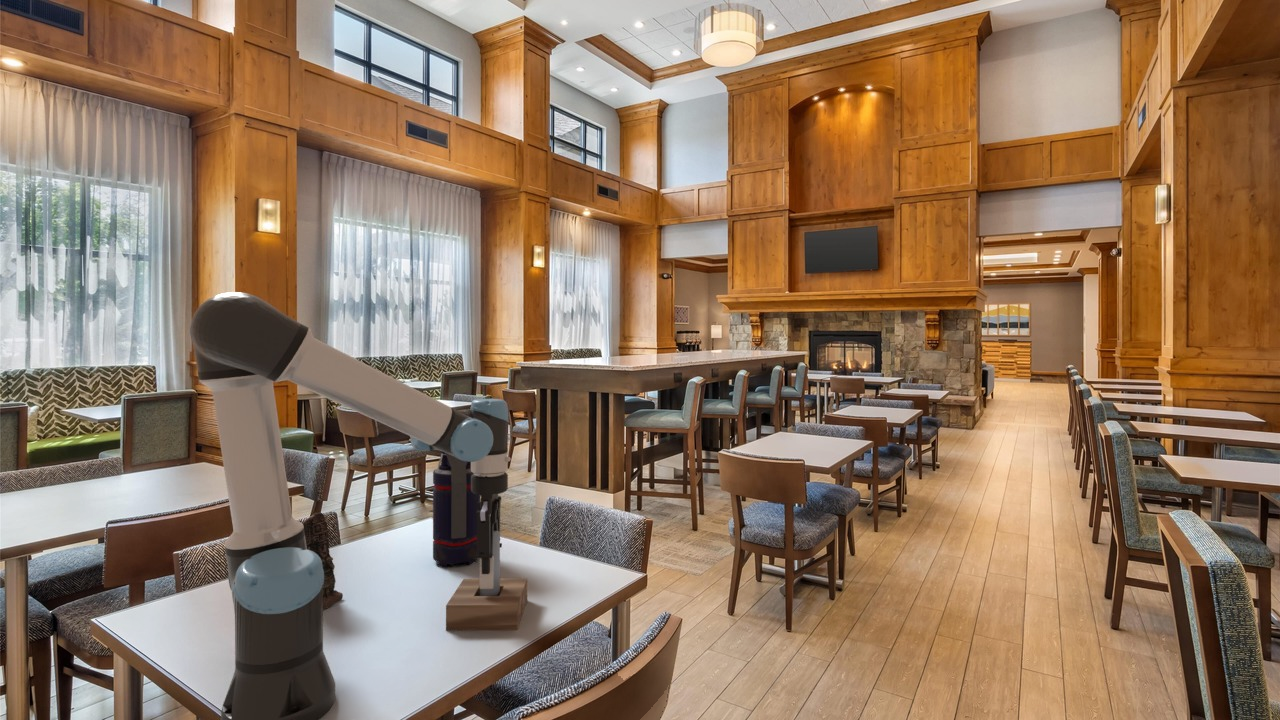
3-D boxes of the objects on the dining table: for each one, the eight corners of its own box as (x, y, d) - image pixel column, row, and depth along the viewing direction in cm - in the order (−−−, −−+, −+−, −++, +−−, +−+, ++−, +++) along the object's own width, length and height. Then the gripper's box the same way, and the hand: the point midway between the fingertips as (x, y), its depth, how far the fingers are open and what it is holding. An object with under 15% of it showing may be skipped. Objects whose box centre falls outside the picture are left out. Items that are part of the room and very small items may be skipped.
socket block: (516, 629, 121) (517, 604, 121) (445, 630, 120) (446, 605, 120) (527, 600, 135) (527, 578, 134) (463, 600, 134) (463, 578, 134)
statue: (321, 612, 128) (321, 518, 127) (292, 609, 129) (292, 515, 129) (344, 599, 134) (343, 509, 134) (316, 596, 136) (315, 507, 136)
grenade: (432, 555, 163) (432, 444, 163) (477, 550, 167) (478, 442, 167) (433, 573, 150) (434, 453, 150) (483, 567, 154) (483, 450, 154)
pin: (497, 612, 125) (497, 535, 125) (478, 612, 125) (478, 536, 125) (501, 604, 129) (501, 530, 129) (482, 604, 129) (482, 530, 129)
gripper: (499, 481, 118) (499, 600, 119) (514, 465, 135) (513, 568, 136) (461, 481, 118) (460, 600, 119) (480, 464, 135) (480, 569, 136)
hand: (488, 583), depth 127 cm, fingers closed on pin, 4 cm apart
